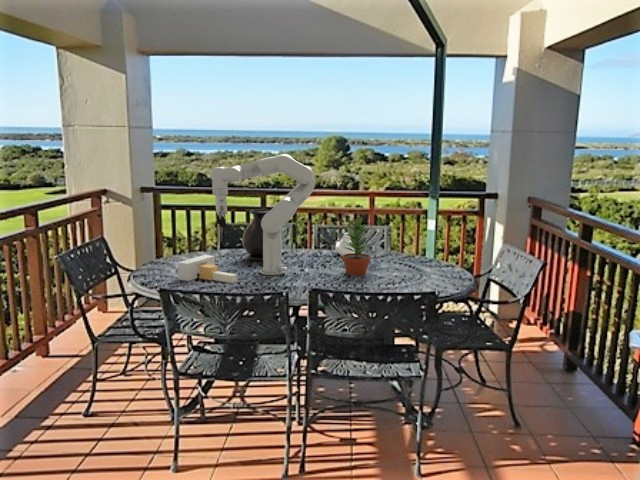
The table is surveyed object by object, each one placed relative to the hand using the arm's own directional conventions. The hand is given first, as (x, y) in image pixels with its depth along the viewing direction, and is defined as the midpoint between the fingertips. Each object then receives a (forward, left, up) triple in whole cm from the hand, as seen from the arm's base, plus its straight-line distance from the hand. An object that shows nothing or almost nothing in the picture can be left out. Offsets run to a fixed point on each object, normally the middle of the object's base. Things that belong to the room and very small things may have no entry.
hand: (221, 225), depth 274 cm
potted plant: (-60, -34, -25) cm, 73 cm away
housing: (+6, +13, -24) cm, 28 cm away
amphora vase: (0, -35, -25) cm, 43 cm away
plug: (-8, +13, -24) cm, 29 cm away
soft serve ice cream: (-35, -72, -25) cm, 84 cm away
